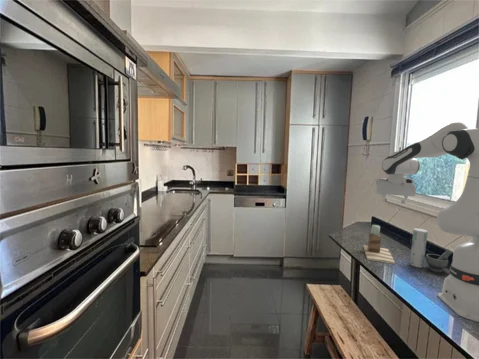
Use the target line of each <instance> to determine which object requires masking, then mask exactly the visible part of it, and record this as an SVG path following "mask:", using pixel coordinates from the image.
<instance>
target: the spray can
mask: <svg viewBox="0 0 479 359" xmlns="http://www.w3.org/2000/svg"><path fill="white" fill-rule="evenodd" d="M428 233H429V231H428V230H427V229H424V228H413V230H412V240H411V241H412V242H411V249H410V258H409V265H411V266H412V267H416V268H423V267H424V264H425V258H426V256H425V255H426V249H427V248H426V247H427V239H428Z"/></svg>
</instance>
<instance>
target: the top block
mask: <svg viewBox="0 0 479 359" xmlns="http://www.w3.org/2000/svg"><path fill="white" fill-rule="evenodd" d="M368 240H369V242H371V243H372V244H380V245H381V240H382V235H381V234H379V236H375V235H372V234H371V232H369V234H368Z"/></svg>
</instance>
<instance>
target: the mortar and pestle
mask: <svg viewBox="0 0 479 359" xmlns="http://www.w3.org/2000/svg"><path fill="white" fill-rule="evenodd" d="M452 254H453V251H451V249H448V248H447V249H446V250H445V251H444V252H443V253H442V254H441V255H440V254H434V253H425V255H426V256H425V262H426V264H427V265H428V270H430V271H433V272H436V273H443V271H444V270H443V269H445V268H446V267H448V264H449V257H450V256H451V255H452Z"/></svg>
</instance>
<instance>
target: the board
mask: <svg viewBox="0 0 479 359" xmlns="http://www.w3.org/2000/svg"><path fill="white" fill-rule="evenodd" d="M363 250H364V254H365V258H366V260H368V261H375V262H380V263H385V264H391V265H392V264H393V265H395V264H396V261H395V260H394V258H393V256H392V254H391V252H390V250H389V249H388V248H384V247H380V253H378V252H372V251H369V250H368V245H363Z"/></svg>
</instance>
